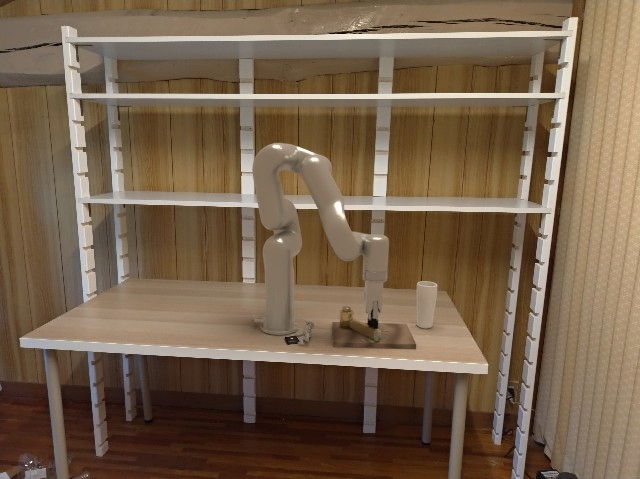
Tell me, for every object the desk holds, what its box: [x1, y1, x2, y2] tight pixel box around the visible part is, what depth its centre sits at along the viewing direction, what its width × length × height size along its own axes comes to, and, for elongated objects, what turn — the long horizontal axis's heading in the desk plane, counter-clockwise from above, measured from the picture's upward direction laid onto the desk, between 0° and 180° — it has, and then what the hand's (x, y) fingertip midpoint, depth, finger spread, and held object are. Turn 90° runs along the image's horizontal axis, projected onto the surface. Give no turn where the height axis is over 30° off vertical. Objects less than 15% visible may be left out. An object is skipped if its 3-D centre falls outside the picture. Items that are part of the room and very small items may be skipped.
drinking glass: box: [415, 280, 438, 330], centre depth 157 cm, size 7×7×15 cm
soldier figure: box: [292, 320, 315, 347], centre depth 145 cm, size 8×5×12 cm
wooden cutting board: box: [331, 321, 417, 350], centre depth 148 cm, size 25×17×2 cm
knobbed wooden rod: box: [339, 305, 381, 341], centre depth 146 cm, size 18×4×6 cm, turn 37°
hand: (372, 331), depth 146 cm, fingers closed
